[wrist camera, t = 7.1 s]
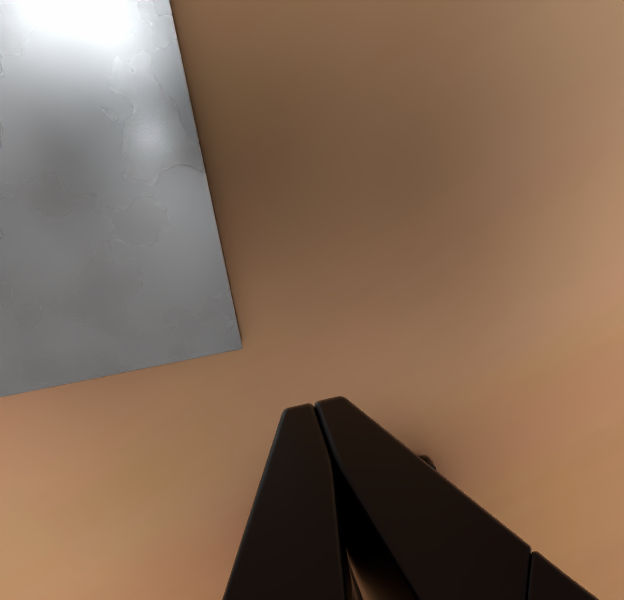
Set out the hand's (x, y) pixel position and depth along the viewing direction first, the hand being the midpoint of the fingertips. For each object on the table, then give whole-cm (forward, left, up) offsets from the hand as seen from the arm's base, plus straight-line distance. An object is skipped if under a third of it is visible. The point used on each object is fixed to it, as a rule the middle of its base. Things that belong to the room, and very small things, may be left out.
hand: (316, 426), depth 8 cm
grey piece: (0, +11, -12) cm, 16 cm away
